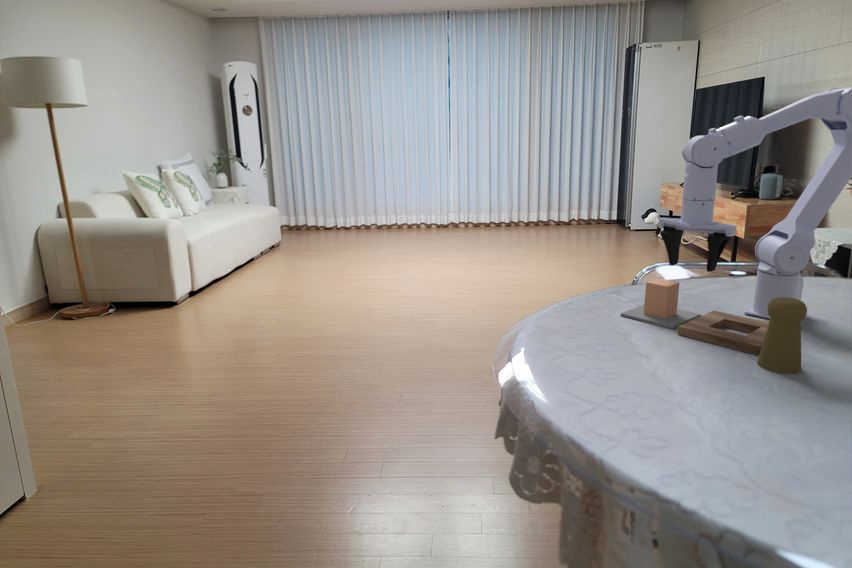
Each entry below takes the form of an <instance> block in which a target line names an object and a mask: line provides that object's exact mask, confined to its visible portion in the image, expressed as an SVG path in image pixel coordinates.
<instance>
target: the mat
mask: <svg viewBox="0 0 852 568" xmlns="http://www.w3.org/2000/svg"><path fill="white" fill-rule="evenodd" d="M620 316H621V317H624V318H628V319H633V320H636V321H640V322H644V323H647V324H651V325H655V326H660V327H664V328H668V329H671V330H672V329H676V328H678V326H680V325H682V324H684V323H687V322H689V321H691V320H693V319H696V318H698V317H700V316H702V314H701V313H698V312H695V311H694V312H693V311H690V310H686V309H685V310H684V309H680V308H677V314H675V315H673V316H670V317H668V318H666V319H663V318H659V317H655V316H651V315H647V314H644V304H643V305H639V306H636V307H634V308H632V309H629V310H627V311H624V312H621V313H620Z"/></svg>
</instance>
